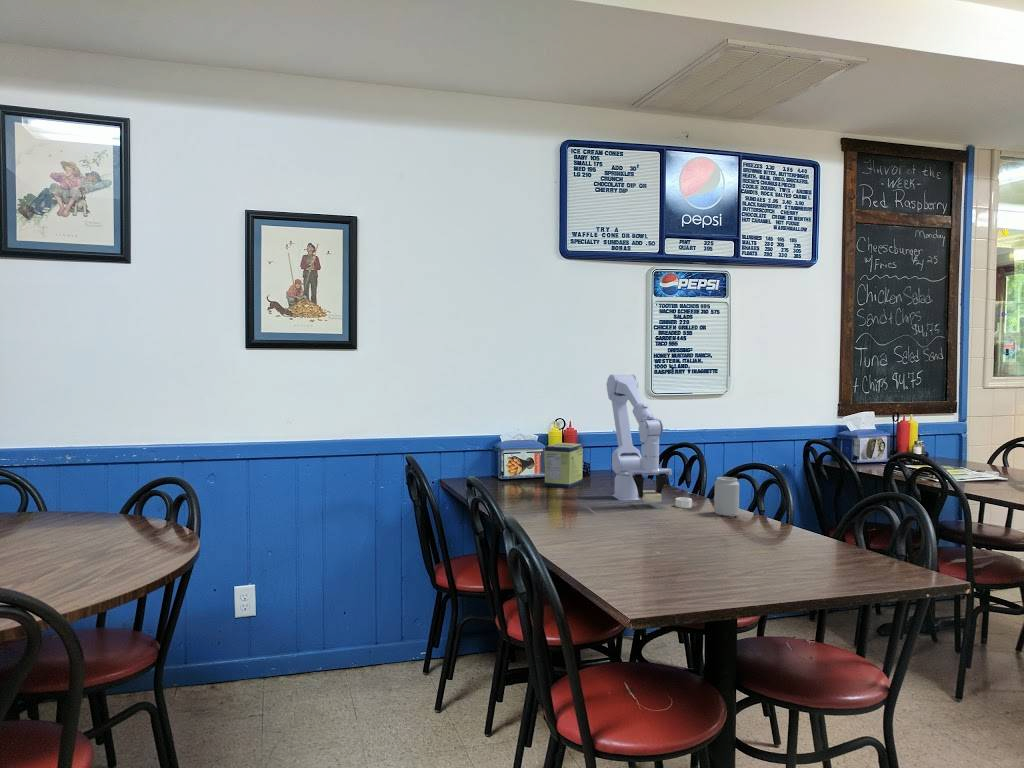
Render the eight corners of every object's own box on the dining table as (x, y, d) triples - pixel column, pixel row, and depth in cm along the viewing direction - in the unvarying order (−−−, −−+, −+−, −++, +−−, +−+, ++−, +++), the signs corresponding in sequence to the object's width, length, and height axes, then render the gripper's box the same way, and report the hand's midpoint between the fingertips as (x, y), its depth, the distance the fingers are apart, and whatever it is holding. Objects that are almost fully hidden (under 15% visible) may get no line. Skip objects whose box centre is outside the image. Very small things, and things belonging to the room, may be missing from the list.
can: (741, 518, 234) (742, 479, 234) (717, 517, 234) (718, 479, 234) (735, 513, 242) (735, 476, 241) (711, 512, 242) (712, 475, 241)
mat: (629, 504, 255) (629, 502, 255) (655, 503, 256) (655, 501, 256) (641, 511, 243) (641, 509, 243) (668, 510, 244) (668, 509, 244)
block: (637, 497, 252) (637, 490, 252) (653, 497, 253) (653, 490, 253) (645, 502, 244) (645, 495, 244) (661, 501, 245) (661, 494, 245)
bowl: (673, 506, 252) (673, 497, 252) (687, 506, 252) (688, 497, 252) (679, 509, 246) (679, 500, 246) (694, 509, 247) (694, 500, 247)
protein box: (582, 482, 299) (583, 443, 298) (569, 488, 285) (570, 447, 284) (558, 480, 303) (558, 442, 303) (544, 486, 289) (544, 446, 288)
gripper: (632, 458, 243) (632, 499, 243) (675, 457, 245) (674, 498, 246) (626, 455, 250) (625, 495, 250) (667, 454, 252) (666, 494, 253)
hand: (649, 496), depth 249 cm, fingers closed on block, 5 cm apart
